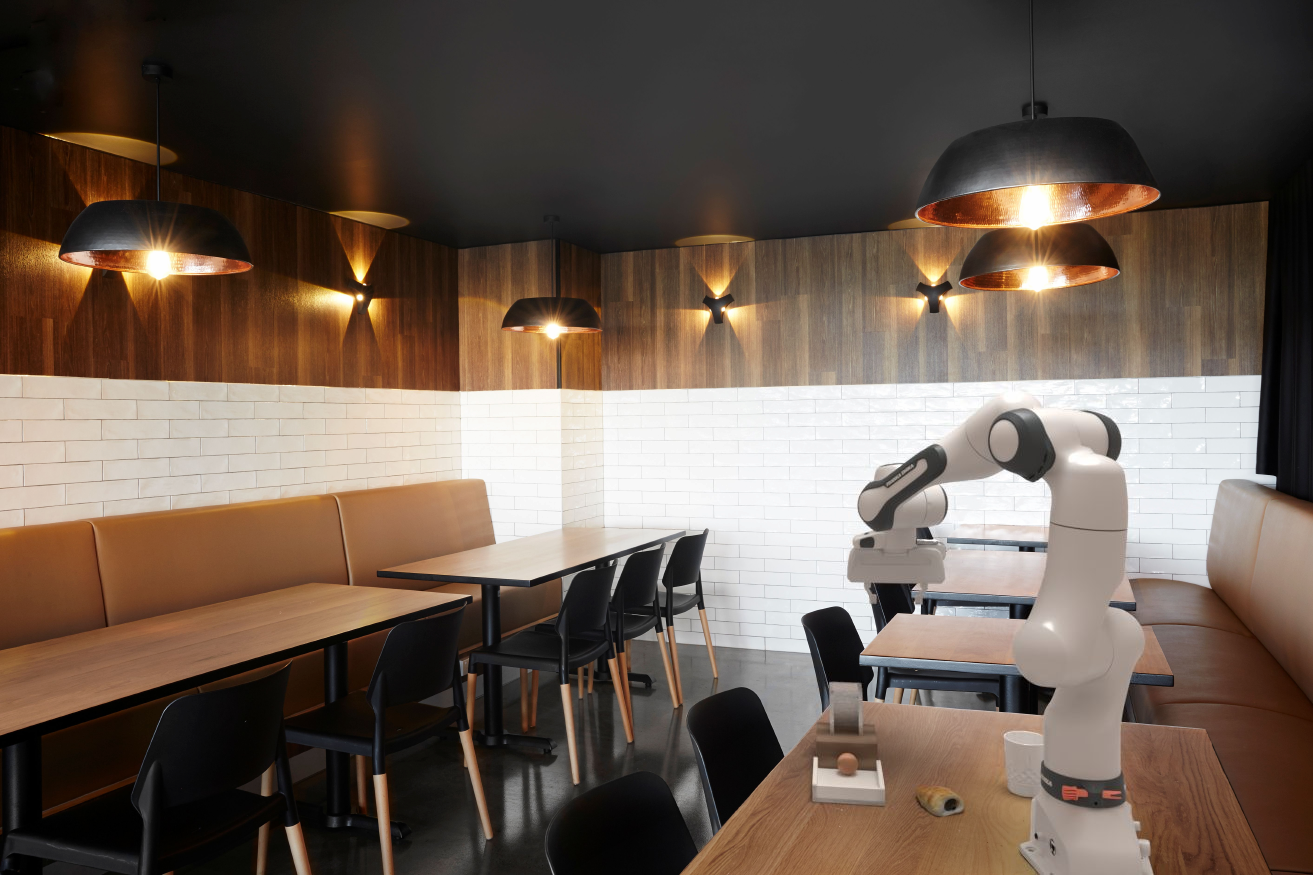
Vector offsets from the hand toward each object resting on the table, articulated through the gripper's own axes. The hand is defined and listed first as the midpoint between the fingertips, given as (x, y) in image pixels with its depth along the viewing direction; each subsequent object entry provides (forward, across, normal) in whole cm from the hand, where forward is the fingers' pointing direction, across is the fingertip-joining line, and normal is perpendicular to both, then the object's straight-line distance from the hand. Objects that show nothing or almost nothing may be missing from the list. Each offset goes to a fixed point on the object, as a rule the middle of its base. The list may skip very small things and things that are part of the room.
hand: (895, 603), depth 189 cm
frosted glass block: (+25, +11, +7) cm, 28 cm away
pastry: (+32, -5, +29) cm, 43 cm away
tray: (+31, +11, +23) cm, 40 cm away
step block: (+31, +11, +9) cm, 34 cm away
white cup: (+31, -22, +19) cm, 43 cm away
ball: (+30, +11, +19) cm, 37 cm away
